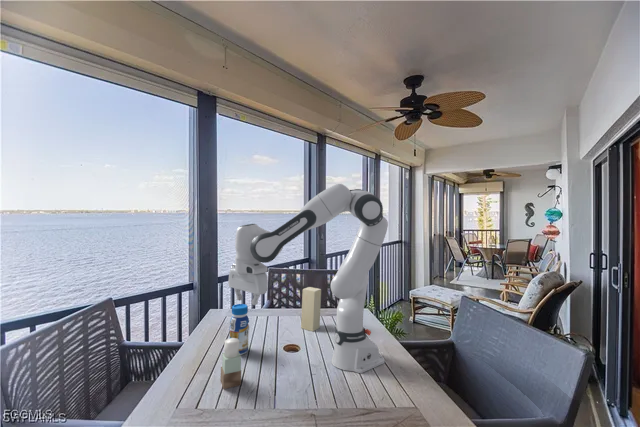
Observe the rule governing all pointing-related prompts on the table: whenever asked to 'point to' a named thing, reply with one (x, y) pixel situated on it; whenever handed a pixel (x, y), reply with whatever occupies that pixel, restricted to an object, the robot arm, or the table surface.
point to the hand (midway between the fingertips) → (246, 302)
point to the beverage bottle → (240, 326)
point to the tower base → (230, 379)
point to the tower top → (231, 364)
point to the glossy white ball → (231, 348)
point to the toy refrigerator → (311, 308)
